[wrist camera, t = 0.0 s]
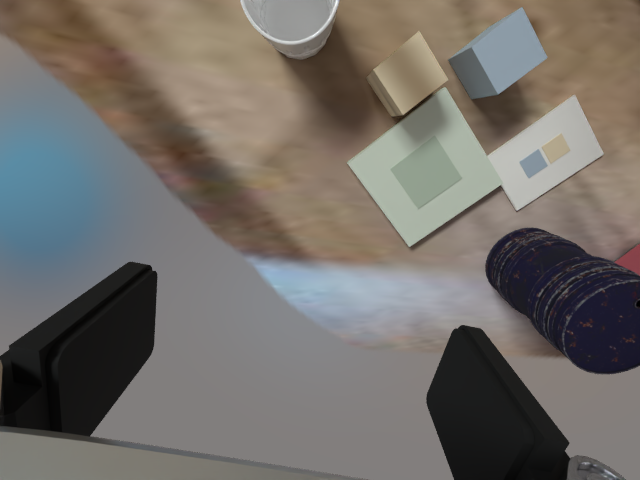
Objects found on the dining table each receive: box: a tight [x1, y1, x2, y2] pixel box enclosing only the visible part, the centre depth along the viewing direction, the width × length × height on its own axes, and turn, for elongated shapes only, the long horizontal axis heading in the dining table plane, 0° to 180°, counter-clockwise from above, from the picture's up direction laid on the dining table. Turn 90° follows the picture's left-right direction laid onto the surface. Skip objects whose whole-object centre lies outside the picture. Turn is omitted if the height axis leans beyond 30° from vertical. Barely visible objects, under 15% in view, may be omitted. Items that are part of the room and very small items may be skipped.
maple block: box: [366, 31, 448, 117], centre depth 33 cm, size 5×5×6 cm
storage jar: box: [486, 228, 640, 374], centre depth 34 cm, size 10×10×18 cm
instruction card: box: [487, 95, 604, 211], centre depth 38 cm, size 11×8×1 cm
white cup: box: [240, 0, 339, 60], centre depth 30 cm, size 8×8×10 cm
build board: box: [347, 87, 503, 247], centre depth 39 cm, size 13×13×1 cm
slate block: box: [448, 7, 547, 99], centre depth 33 cm, size 5×5×6 cm
